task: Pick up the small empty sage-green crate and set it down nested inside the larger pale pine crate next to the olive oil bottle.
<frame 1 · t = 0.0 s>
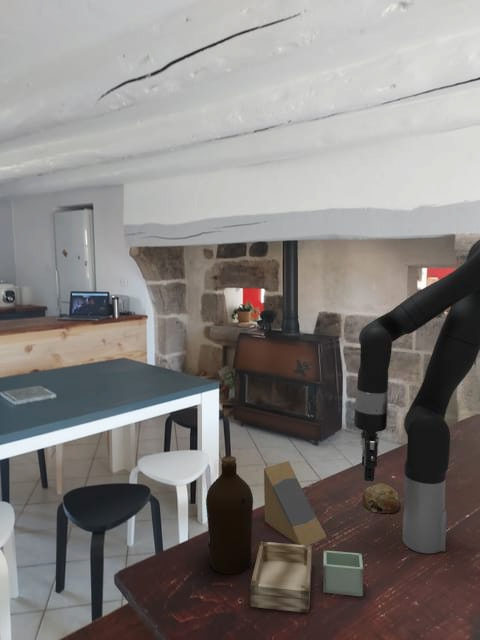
hand: (367, 472, 121), 17 cm above the table, tool pointing down, fingers open, 8 cm apart
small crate: (342, 585, 106), on the table
big crate: (283, 584, 107), on the table
bread roll: (380, 505, 140), on the table
olive oil: (230, 562, 115), on the table
sandwich container: (294, 530, 128), on the table
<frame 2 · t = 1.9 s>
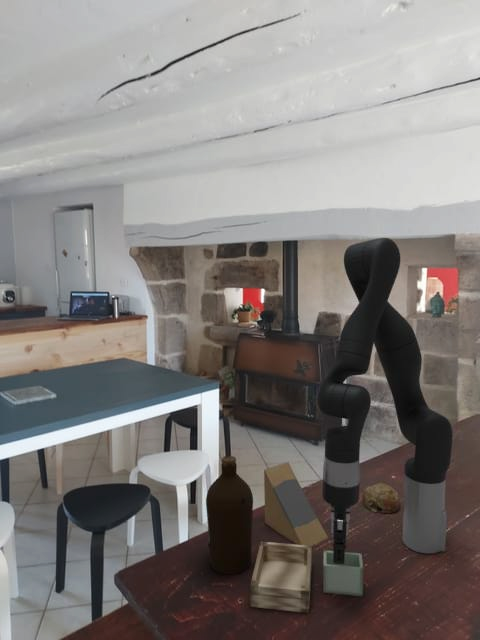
hand: (338, 550, 105), 8 cm above the table, tool pointing down, fingers open, 8 cm apart
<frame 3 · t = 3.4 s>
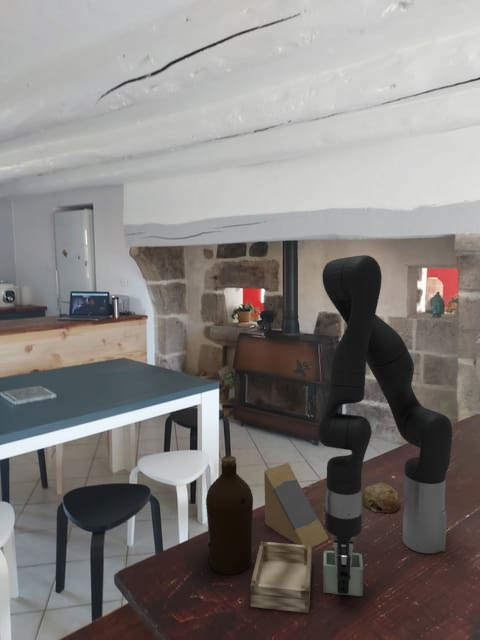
hand: (342, 582, 106), 1 cm above the table, tool pointing down, fingers closed on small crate, 5 cm apart
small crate: (342, 585, 106), on the table, touching gripper
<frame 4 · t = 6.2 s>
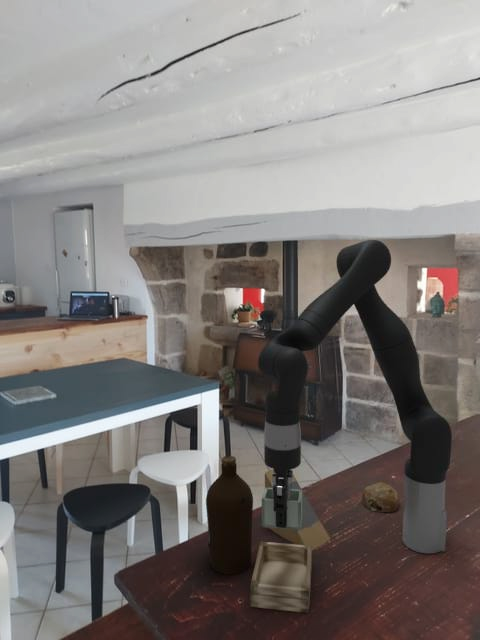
hand: (282, 518, 105), 15 cm above the table, tool pointing down, fingers closed on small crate, 5 cm apart
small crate: (282, 521, 105), point 14 cm above the table, touching gripper
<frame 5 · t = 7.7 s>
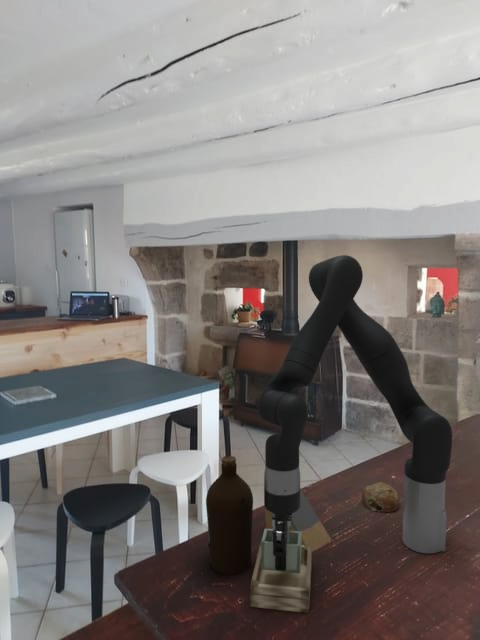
hand: (282, 560, 106), 5 cm above the table, tool pointing down, fingers closed on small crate, 5 cm apart
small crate: (281, 563, 106), point 5 cm above the table, touching gripper
when the fingers open (3 cm above the table, at t = 9.1 s): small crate drops 2 cm, resting on big crate.
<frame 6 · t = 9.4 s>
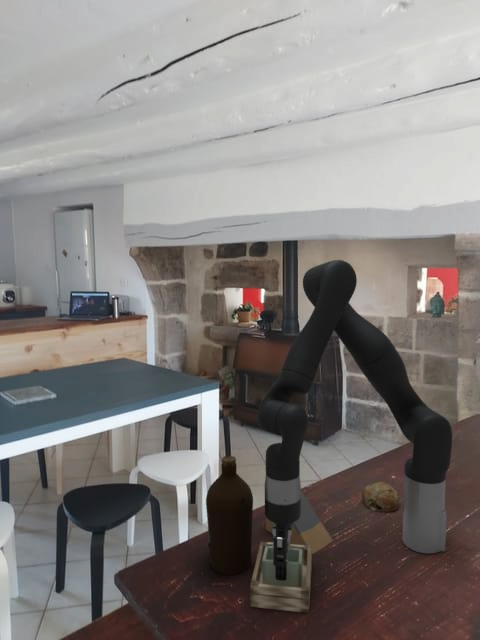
hand: (282, 566, 106), 4 cm above the table, tool pointing down, fingers open, 8 cm apart
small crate: (282, 580, 106), point 1 cm above the table, touching big crate
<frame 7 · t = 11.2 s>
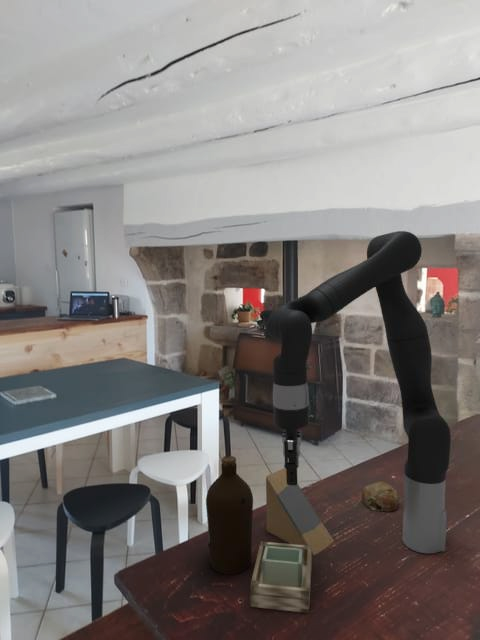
hand: (292, 475, 108), 22 cm above the table, tool pointing down, fingers open, 8 cm apart
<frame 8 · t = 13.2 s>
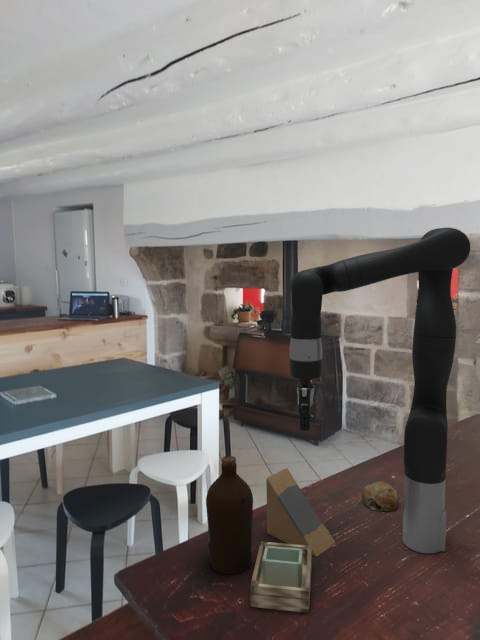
hand: (305, 423, 118), 30 cm above the table, tool pointing down, fingers open, 8 cm apart
at the end: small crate inside the target area on the big crate (0.0 cm from its centre), point 0.8 cm above the big crate's base; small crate tilted 0°; the gripper is holding nothing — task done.
